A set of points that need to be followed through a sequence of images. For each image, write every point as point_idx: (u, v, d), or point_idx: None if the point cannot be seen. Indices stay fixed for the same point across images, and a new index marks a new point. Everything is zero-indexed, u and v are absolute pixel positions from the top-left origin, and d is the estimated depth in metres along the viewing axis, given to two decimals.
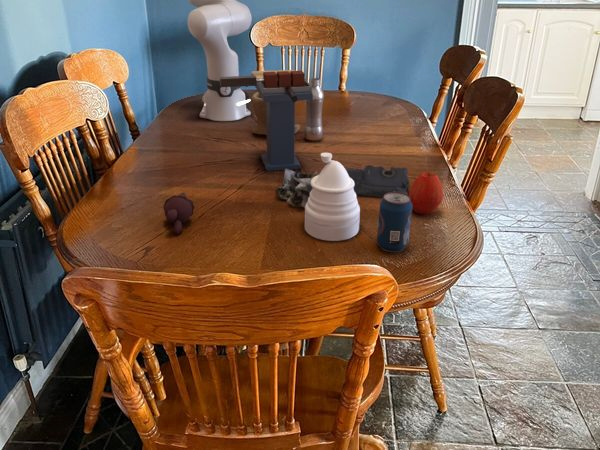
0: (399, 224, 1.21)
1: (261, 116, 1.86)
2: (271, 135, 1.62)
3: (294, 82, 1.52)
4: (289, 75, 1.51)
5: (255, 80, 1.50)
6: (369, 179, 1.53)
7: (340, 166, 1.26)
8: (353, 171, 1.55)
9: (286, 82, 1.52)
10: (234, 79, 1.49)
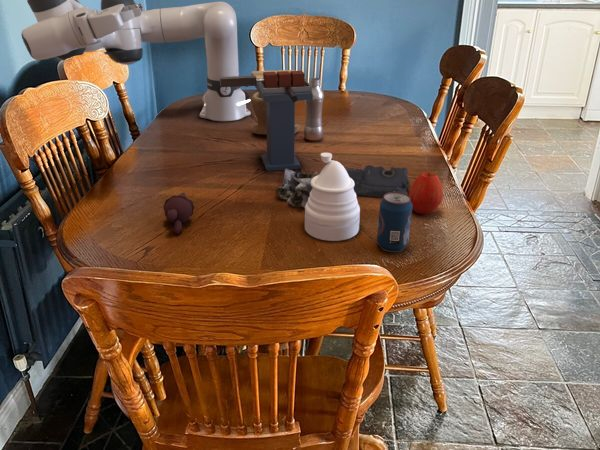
0: (399, 224, 1.21)
1: (261, 116, 1.86)
2: (271, 135, 1.62)
3: (294, 82, 1.52)
4: (289, 75, 1.51)
5: (255, 80, 1.50)
6: (369, 179, 1.53)
7: (340, 166, 1.26)
8: (353, 171, 1.55)
9: (286, 82, 1.52)
10: (234, 79, 1.49)
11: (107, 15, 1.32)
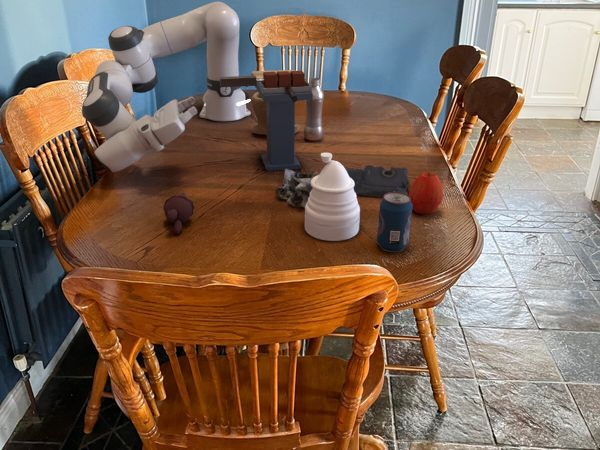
0: (399, 224, 1.21)
1: (261, 116, 1.86)
2: (271, 135, 1.62)
3: (294, 82, 1.52)
4: (289, 75, 1.51)
5: (255, 80, 1.50)
6: (369, 179, 1.53)
7: (340, 166, 1.26)
8: (353, 171, 1.55)
9: (286, 82, 1.52)
10: (234, 79, 1.49)
11: (169, 124, 1.42)
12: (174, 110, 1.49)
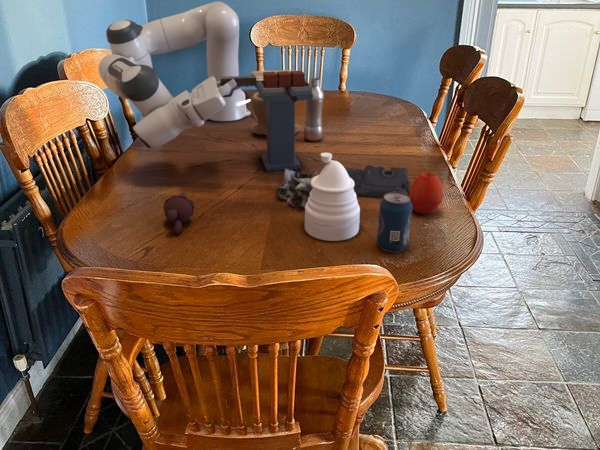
0: (399, 224, 1.21)
1: (261, 116, 1.86)
2: (271, 135, 1.62)
3: (294, 82, 1.52)
4: (289, 75, 1.51)
5: (255, 80, 1.50)
6: (369, 179, 1.53)
7: (340, 166, 1.26)
8: (353, 171, 1.55)
9: (286, 82, 1.52)
10: (234, 79, 1.49)
11: (211, 98, 1.41)
12: (214, 86, 1.49)
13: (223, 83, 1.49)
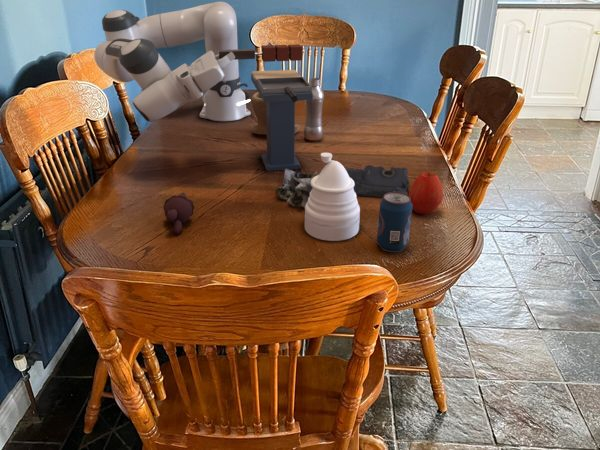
0: (399, 224, 1.21)
1: (261, 116, 1.86)
2: (271, 135, 1.62)
3: (292, 55, 1.53)
4: (287, 48, 1.52)
5: (253, 53, 1.52)
6: (369, 178, 1.53)
7: (340, 166, 1.26)
8: (353, 171, 1.55)
9: (284, 55, 1.53)
10: None
11: (209, 70, 1.42)
12: (212, 58, 1.50)
13: (222, 56, 1.50)
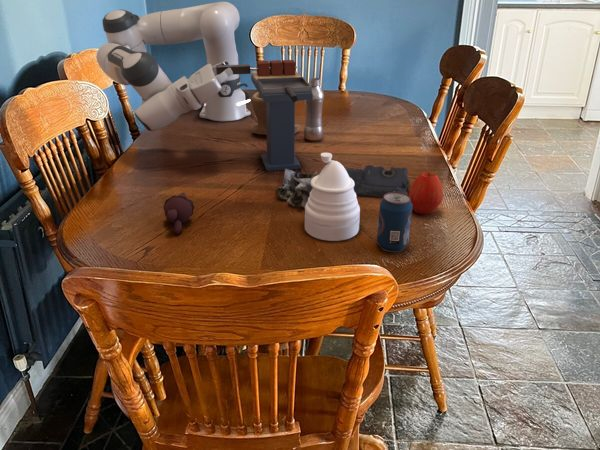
0: (399, 224, 1.21)
1: (261, 116, 1.86)
2: (271, 135, 1.62)
3: (286, 70, 1.62)
4: (281, 64, 1.61)
5: (249, 68, 1.60)
6: (369, 178, 1.53)
7: (340, 166, 1.26)
8: (353, 171, 1.55)
9: (278, 70, 1.61)
10: (229, 67, 1.59)
11: (207, 83, 1.51)
12: (210, 71, 1.58)
13: (219, 71, 1.59)
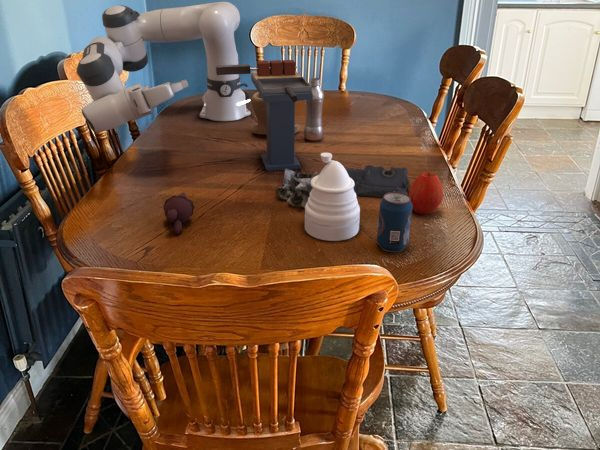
0: (399, 224, 1.21)
1: (261, 116, 1.86)
2: (271, 135, 1.62)
3: (286, 70, 1.62)
4: (281, 64, 1.61)
5: (249, 68, 1.60)
6: (369, 178, 1.53)
7: (340, 166, 1.26)
8: (353, 171, 1.55)
9: (278, 70, 1.61)
10: (229, 67, 1.59)
11: (160, 87, 1.50)
12: None
13: (219, 71, 1.59)
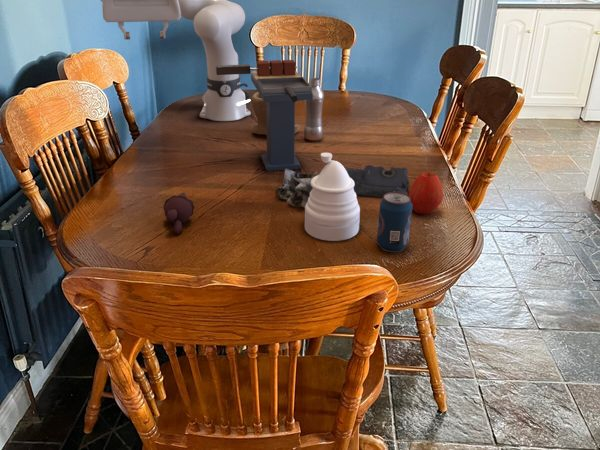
0: (399, 224, 1.21)
1: (261, 116, 1.86)
2: (271, 135, 1.62)
3: (286, 70, 1.62)
4: (281, 64, 1.61)
5: (249, 68, 1.60)
6: (369, 178, 1.53)
7: (340, 166, 1.26)
8: (353, 171, 1.55)
9: (278, 70, 1.61)
10: (229, 67, 1.59)
11: None
12: None
13: (219, 71, 1.59)
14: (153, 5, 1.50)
